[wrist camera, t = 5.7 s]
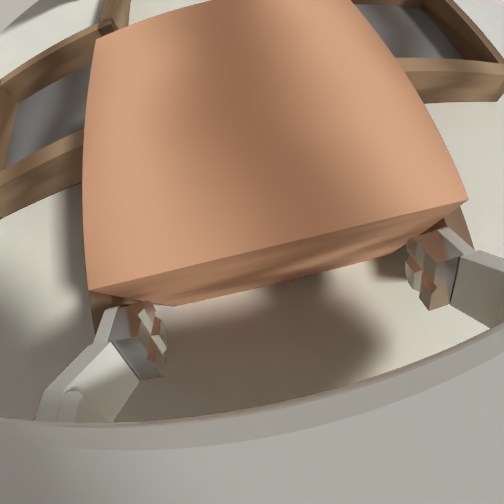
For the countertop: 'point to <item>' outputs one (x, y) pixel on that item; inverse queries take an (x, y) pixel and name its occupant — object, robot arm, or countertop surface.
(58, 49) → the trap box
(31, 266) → the countertop surface
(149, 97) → the terracotta block
